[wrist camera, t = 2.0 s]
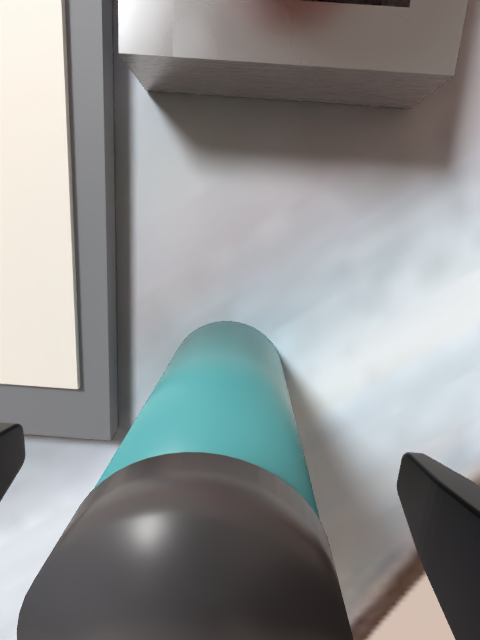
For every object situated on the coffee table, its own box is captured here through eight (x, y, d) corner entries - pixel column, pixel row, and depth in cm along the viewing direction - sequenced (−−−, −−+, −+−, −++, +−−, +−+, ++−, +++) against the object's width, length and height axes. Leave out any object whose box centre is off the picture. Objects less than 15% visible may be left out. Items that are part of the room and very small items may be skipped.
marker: (278, 429, 14) (331, 783, 5) (169, 421, 14) (29, 760, 5) (289, 324, 13) (379, 532, 4) (172, 315, 13) (1, 503, 4)
